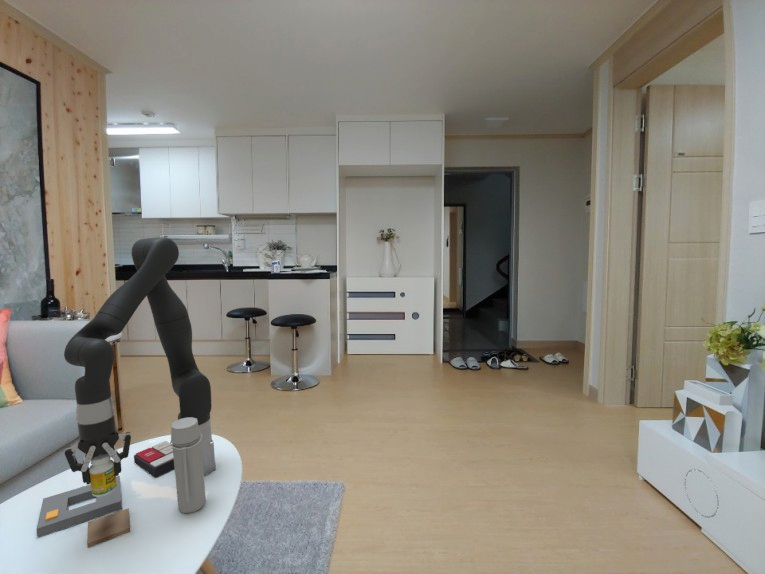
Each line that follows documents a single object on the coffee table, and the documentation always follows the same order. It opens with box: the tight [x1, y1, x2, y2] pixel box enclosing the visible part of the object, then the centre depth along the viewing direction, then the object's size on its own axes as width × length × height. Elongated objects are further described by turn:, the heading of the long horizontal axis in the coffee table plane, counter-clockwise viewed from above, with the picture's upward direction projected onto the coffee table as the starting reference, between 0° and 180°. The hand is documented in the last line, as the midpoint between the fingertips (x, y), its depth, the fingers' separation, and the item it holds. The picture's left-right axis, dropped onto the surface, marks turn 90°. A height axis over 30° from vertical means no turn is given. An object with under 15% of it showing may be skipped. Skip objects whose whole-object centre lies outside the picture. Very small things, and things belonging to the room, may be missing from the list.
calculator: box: [133, 440, 175, 479], centre depth 133 cm, size 11×4×15 cm
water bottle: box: [169, 417, 207, 514], centre depth 109 cm, size 9×8×25 cm
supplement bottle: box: [89, 454, 117, 497], centre depth 102 cm, size 5×5×10 cm
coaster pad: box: [86, 507, 132, 549], centre depth 104 cm, size 9×9×1 cm
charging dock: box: [36, 475, 123, 538], centre depth 111 cm, size 18×14×3 cm
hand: (102, 478), depth 102 cm, fingers closed on supplement bottle, 5 cm apart
